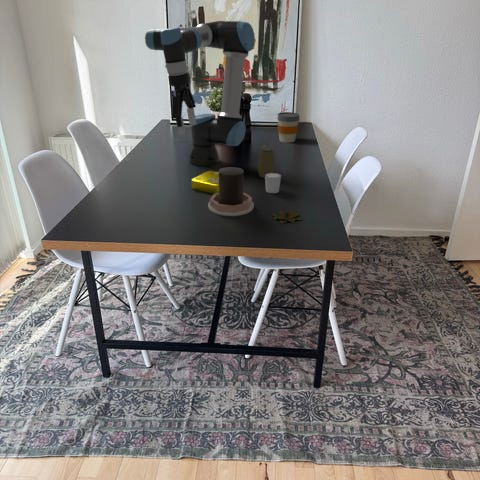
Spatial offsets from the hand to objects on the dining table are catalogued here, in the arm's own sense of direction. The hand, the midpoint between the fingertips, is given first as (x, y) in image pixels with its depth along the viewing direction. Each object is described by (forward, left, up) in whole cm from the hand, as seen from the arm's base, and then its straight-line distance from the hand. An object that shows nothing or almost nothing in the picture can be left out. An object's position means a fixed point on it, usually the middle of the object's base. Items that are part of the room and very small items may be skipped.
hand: (187, 129), depth 181 cm
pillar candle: (+11, +20, -26) cm, 34 cm away
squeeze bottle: (-27, +27, -27) cm, 47 cm away
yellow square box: (-9, +8, -27) cm, 30 cm away
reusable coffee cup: (-91, +28, -27) cm, 99 cm away
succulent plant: (+16, +43, -27) cm, 53 cm away
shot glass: (-10, +33, -27) cm, 44 cm away
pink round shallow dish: (+11, +20, -27) cm, 35 cm away
